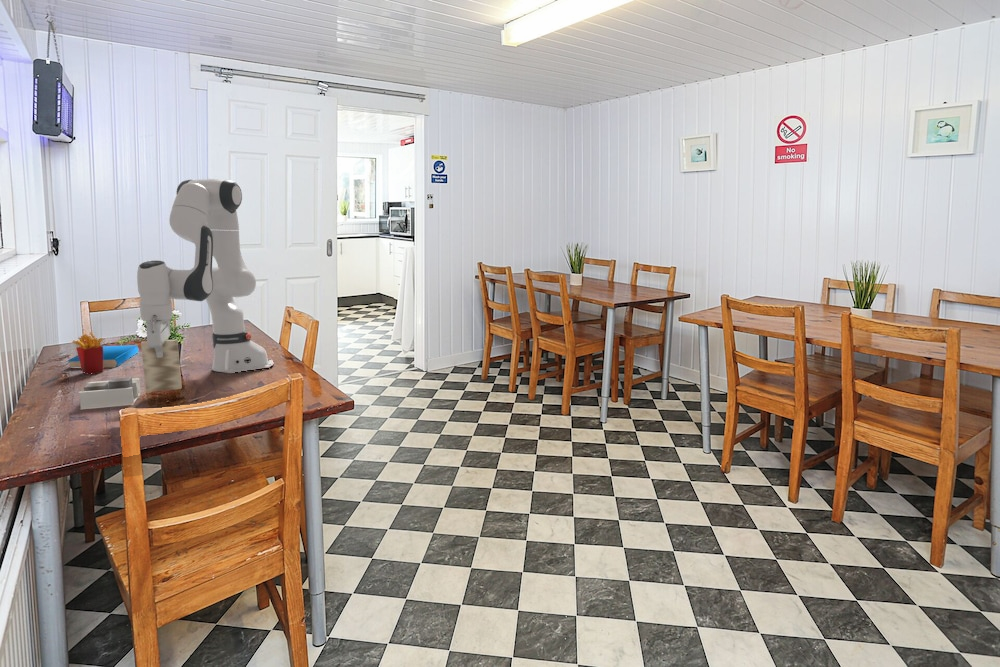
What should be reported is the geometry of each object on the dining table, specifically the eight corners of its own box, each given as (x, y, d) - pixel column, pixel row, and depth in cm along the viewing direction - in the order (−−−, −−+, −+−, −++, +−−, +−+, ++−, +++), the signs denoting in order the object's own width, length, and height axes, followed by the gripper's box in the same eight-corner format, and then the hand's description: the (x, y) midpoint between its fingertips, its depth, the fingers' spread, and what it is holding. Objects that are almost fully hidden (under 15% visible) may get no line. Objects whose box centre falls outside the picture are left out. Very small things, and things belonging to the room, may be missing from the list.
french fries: (107, 371, 236) (102, 333, 233) (83, 376, 229) (77, 336, 226) (95, 368, 241) (90, 330, 238) (71, 373, 234) (66, 334, 231)
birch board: (181, 387, 203) (177, 339, 200) (181, 388, 202) (176, 340, 199) (147, 390, 200) (142, 341, 197) (146, 391, 198) (141, 342, 195)
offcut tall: (134, 398, 198) (131, 377, 197) (131, 402, 195) (129, 380, 193) (113, 400, 196) (111, 378, 195) (110, 403, 193) (108, 382, 191)
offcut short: (110, 400, 196) (107, 382, 195) (107, 404, 192) (104, 385, 191) (89, 402, 194) (87, 383, 193) (86, 406, 191) (83, 387, 189)
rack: (141, 396, 205) (139, 377, 204) (133, 409, 192) (131, 389, 191) (92, 400, 201) (89, 381, 199) (80, 414, 188) (77, 393, 186)
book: (67, 360, 239) (93, 345, 263) (69, 371, 240) (94, 355, 264) (117, 358, 243) (138, 343, 267) (118, 368, 244) (139, 353, 267)
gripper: (162, 317, 187) (167, 362, 190) (172, 308, 206) (176, 348, 209) (139, 319, 185) (144, 364, 188) (150, 308, 204) (155, 350, 207)
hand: (161, 356), depth 199 cm, fingers closed on birch board, 2 cm apart
